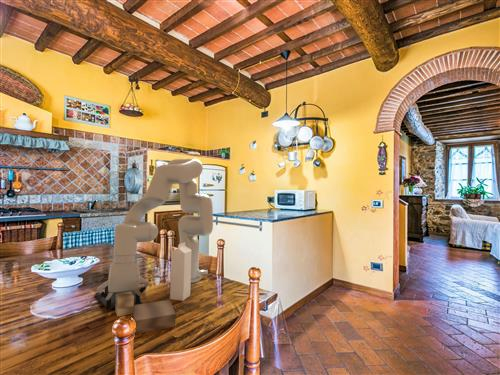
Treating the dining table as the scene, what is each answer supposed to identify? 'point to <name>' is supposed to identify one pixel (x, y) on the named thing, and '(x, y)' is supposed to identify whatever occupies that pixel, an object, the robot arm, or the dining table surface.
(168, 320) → the walnut base
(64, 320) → the dining table surface
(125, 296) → the beech block
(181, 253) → the milk
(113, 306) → the dark slate chunk
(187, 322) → the dining table surface
